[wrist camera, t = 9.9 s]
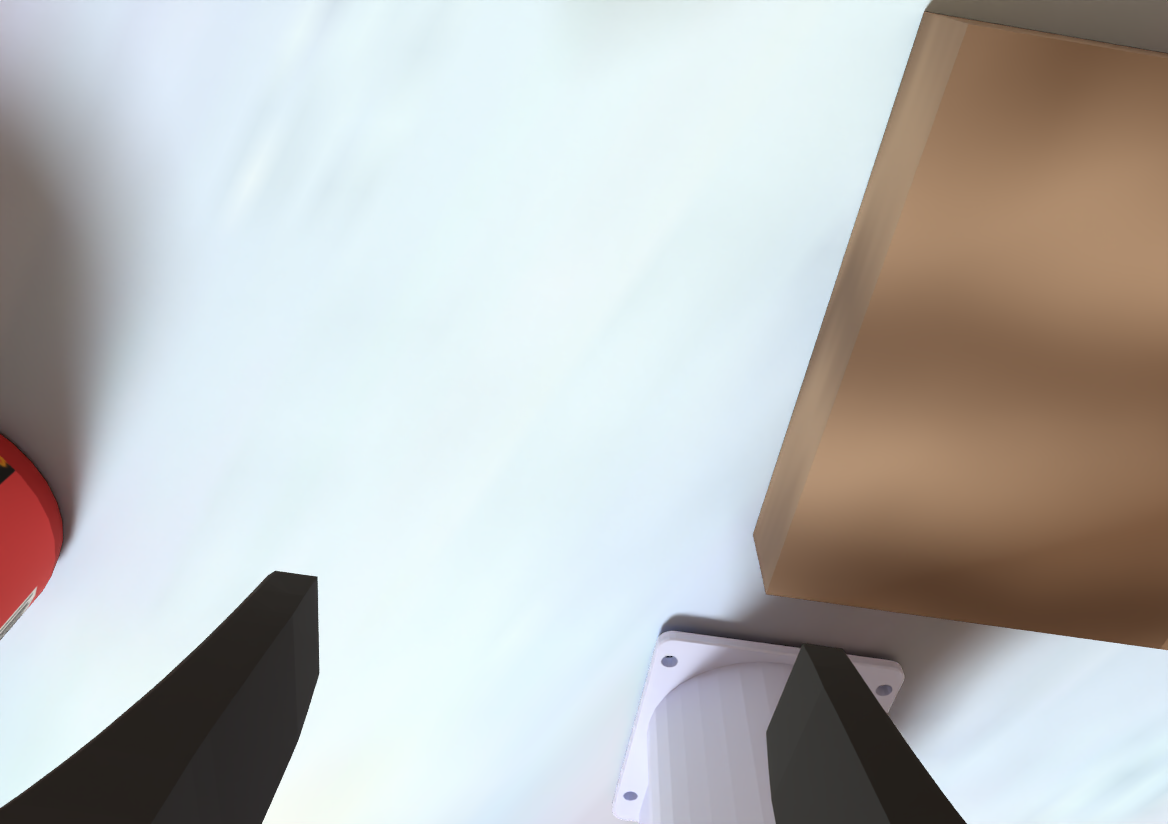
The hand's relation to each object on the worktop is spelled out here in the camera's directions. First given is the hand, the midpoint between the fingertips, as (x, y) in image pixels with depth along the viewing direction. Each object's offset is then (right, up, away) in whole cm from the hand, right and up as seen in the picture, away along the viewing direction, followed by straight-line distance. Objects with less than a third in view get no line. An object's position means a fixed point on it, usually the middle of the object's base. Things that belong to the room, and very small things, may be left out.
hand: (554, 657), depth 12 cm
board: (+16, +5, +9) cm, 19 cm away
